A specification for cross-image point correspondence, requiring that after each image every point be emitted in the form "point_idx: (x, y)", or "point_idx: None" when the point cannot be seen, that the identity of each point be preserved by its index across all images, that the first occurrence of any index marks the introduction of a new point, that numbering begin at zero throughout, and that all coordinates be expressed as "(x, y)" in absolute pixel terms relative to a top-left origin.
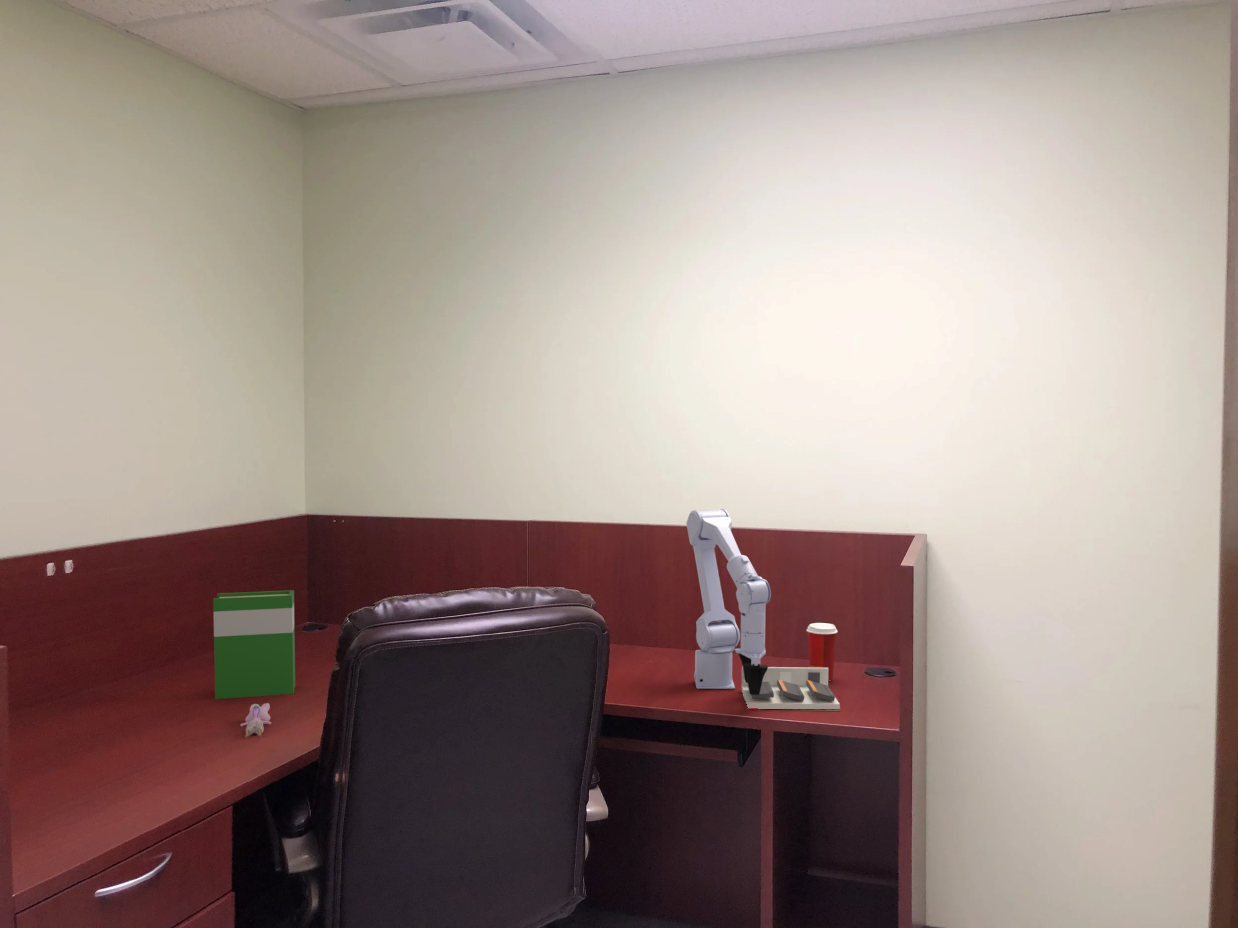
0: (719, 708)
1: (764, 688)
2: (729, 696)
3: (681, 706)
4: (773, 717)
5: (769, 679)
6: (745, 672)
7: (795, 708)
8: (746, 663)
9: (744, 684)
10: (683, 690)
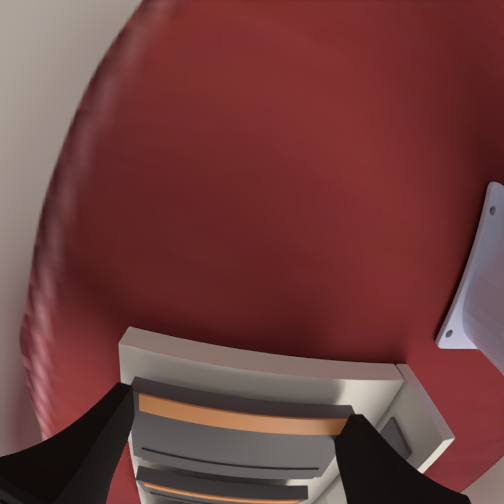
0: (152, 191)
1: (217, 455)
2: (357, 301)
3: (226, 2)
4: (52, 368)
5: None
6: (370, 454)
7: None
8: (382, 500)
9: (404, 392)
10: (481, 113)
